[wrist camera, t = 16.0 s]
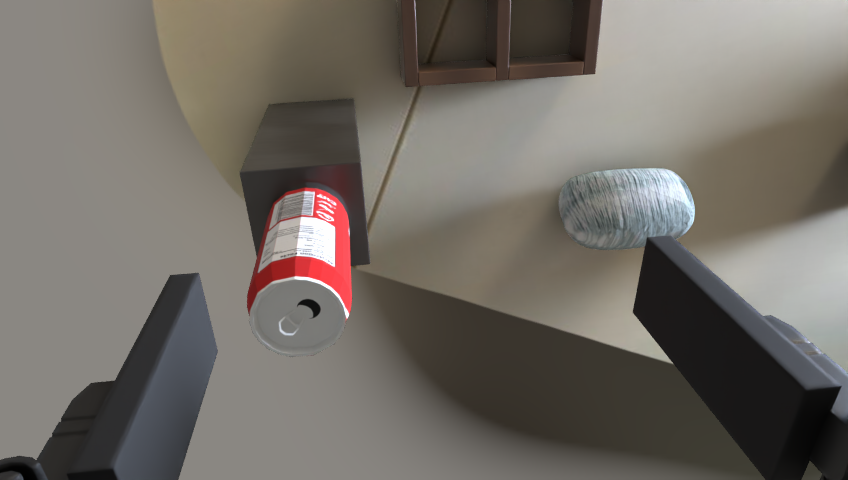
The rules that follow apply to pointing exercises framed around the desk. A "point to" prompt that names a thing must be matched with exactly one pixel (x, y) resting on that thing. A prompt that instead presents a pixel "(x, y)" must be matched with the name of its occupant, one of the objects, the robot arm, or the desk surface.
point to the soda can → (302, 275)
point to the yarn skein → (625, 207)
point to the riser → (307, 164)
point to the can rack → (502, 49)
